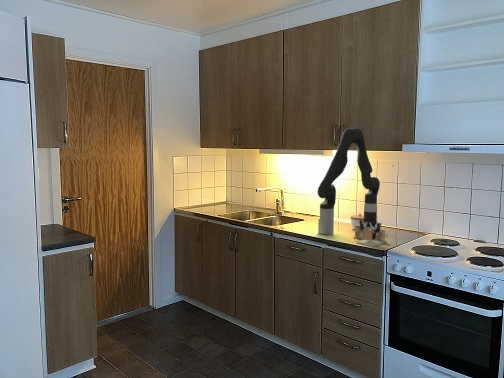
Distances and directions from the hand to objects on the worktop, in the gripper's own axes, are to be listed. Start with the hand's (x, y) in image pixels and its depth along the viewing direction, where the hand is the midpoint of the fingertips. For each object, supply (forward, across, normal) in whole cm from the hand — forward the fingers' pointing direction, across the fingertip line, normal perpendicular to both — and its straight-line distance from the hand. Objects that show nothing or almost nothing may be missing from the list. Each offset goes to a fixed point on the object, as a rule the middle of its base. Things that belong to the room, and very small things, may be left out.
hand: (369, 238), depth 258 cm
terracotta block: (+1, 0, 0) cm, 1 cm away
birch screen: (+3, -5, +8) cm, 10 cm away
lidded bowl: (+3, -27, +32) cm, 42 cm away
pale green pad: (+3, 0, 0) cm, 3 cm away
